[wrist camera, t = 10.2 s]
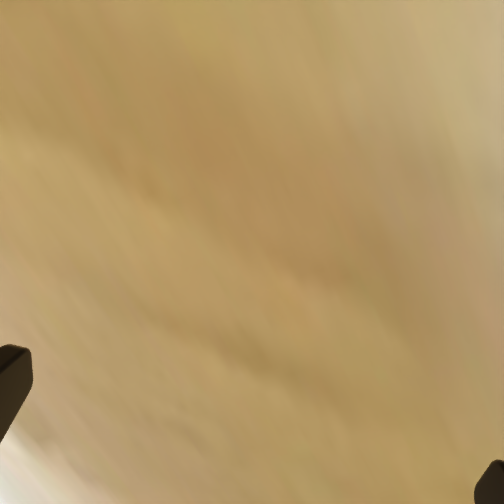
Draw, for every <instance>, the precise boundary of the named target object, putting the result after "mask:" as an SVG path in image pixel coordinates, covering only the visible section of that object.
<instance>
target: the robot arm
mask: <svg viewBox="0 0 504 504" xmlns="http://www.w3.org/2000/svg"><path fill="white" fill-rule="evenodd" d="M32 384H33V370H32V358H31V352H30V350H29V349H27V348H25V347H21V346H16V345H12V344H8V345H4V346H2V347H0V443H1V441H2V440H3V438H4V436H5V434H6V432H7V431H8V429H9V427H10V425H11V424H12V422H13V420H14V418H15V417H16V415H17V413H18V411H19V409H20V408H21V406H22V404H23V402H24V401H25V399H26V397H27V395H28V394H29V392H30V390H31V387H32ZM474 501H475V504H504V461H503V460H494V461H492V463H491V464H490V465H489V467H488V468H487V470H486V471H485V472H484V474H483V475H482V477H481V478H480V480H479V481H478V482H477V484H476V487H475V490H474Z"/></svg>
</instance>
